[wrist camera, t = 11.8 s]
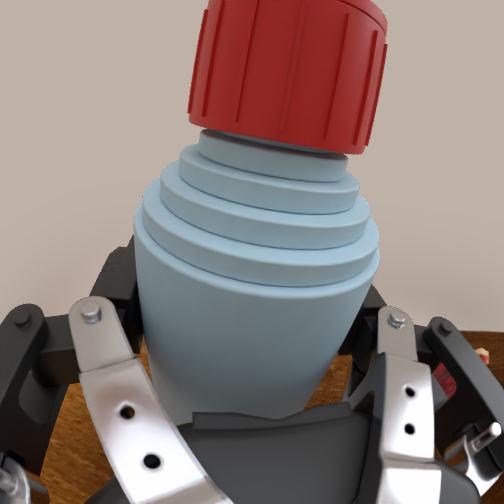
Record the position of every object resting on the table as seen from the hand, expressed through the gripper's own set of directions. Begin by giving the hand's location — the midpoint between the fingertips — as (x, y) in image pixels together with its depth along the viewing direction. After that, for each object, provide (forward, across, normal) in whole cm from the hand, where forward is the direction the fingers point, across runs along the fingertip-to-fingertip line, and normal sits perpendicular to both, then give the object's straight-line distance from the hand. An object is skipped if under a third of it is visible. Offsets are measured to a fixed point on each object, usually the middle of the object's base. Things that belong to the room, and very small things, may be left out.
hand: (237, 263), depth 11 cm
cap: (-2, 0, -5) cm, 6 cm away
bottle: (-2, 0, +10) cm, 10 cm away
